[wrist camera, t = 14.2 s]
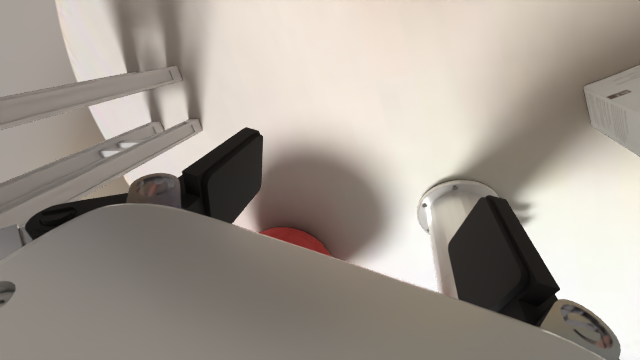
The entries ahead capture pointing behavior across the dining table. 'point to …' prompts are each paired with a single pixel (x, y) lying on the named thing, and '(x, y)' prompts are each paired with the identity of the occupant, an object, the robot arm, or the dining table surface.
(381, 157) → the dining table surface
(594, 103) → the skincare box
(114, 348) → the robot arm
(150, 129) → the stool
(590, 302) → the dining table surface
